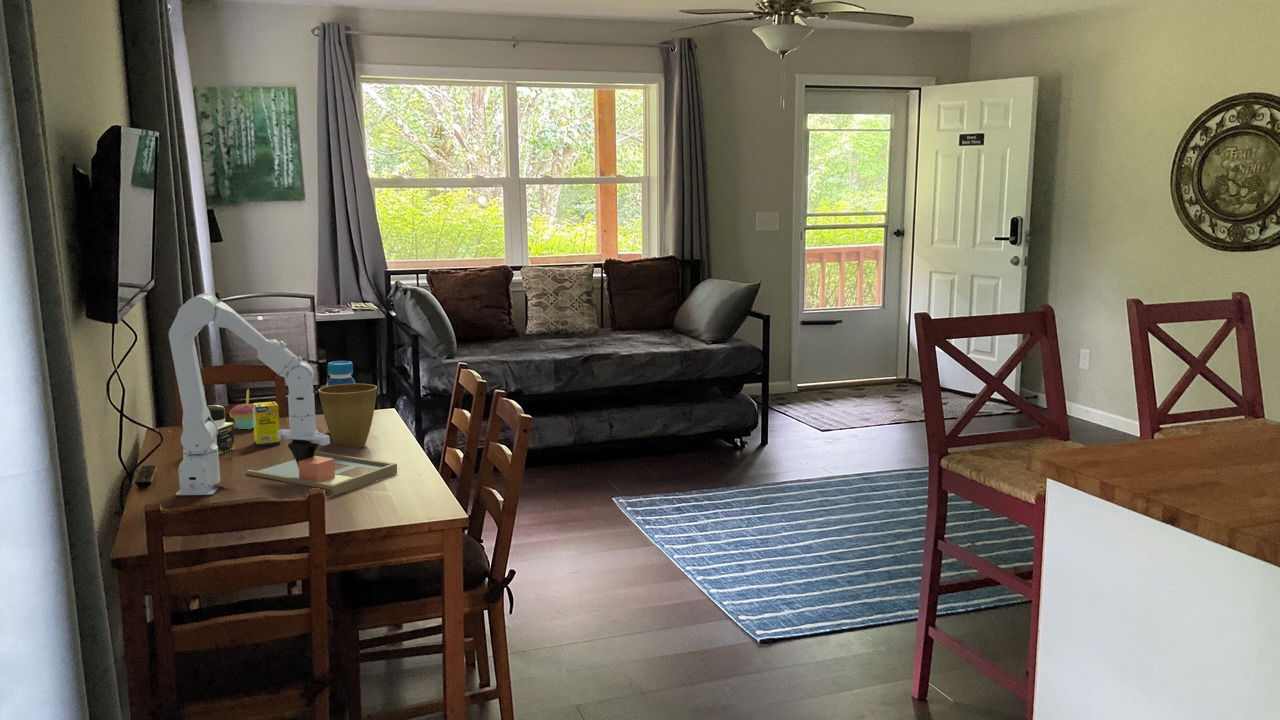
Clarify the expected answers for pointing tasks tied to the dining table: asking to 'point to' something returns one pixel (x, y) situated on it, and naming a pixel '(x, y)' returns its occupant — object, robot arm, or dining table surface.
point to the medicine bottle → (222, 429)
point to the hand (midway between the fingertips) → (305, 471)
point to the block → (317, 469)
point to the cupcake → (243, 414)
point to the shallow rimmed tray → (339, 483)
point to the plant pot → (348, 412)
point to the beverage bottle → (340, 373)
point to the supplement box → (266, 423)
